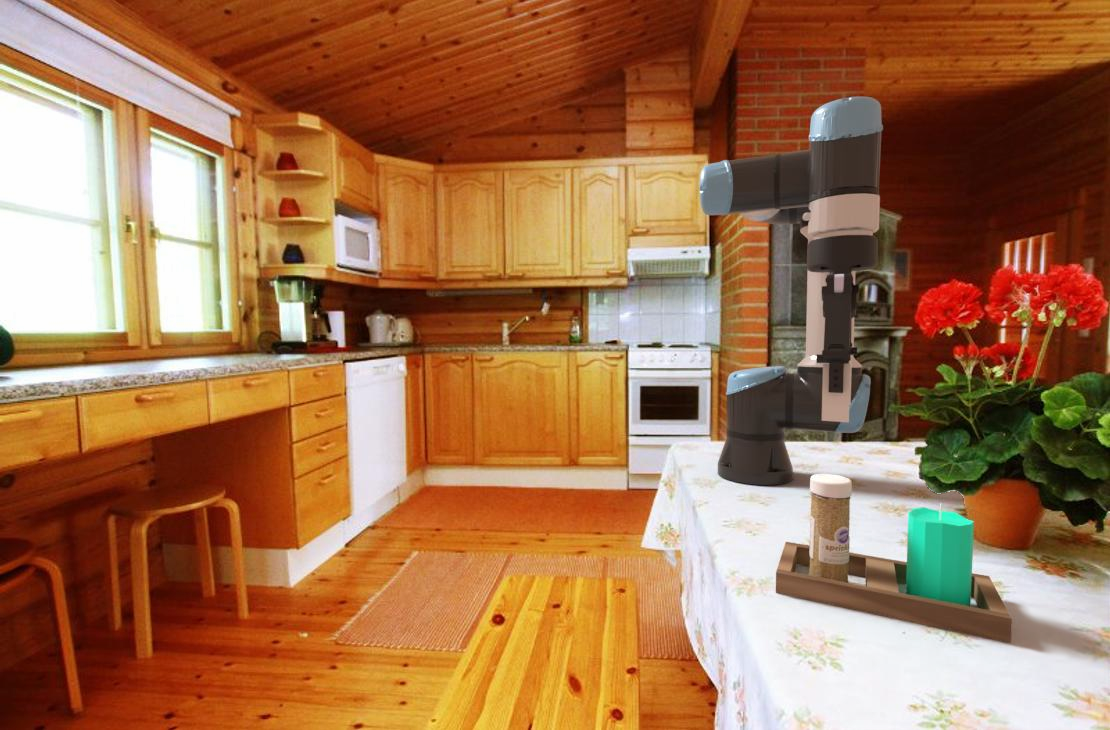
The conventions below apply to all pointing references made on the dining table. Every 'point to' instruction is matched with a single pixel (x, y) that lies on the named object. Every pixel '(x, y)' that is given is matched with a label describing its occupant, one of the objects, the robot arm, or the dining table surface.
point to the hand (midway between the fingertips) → (837, 412)
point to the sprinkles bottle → (829, 526)
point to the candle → (939, 555)
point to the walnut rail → (894, 594)
